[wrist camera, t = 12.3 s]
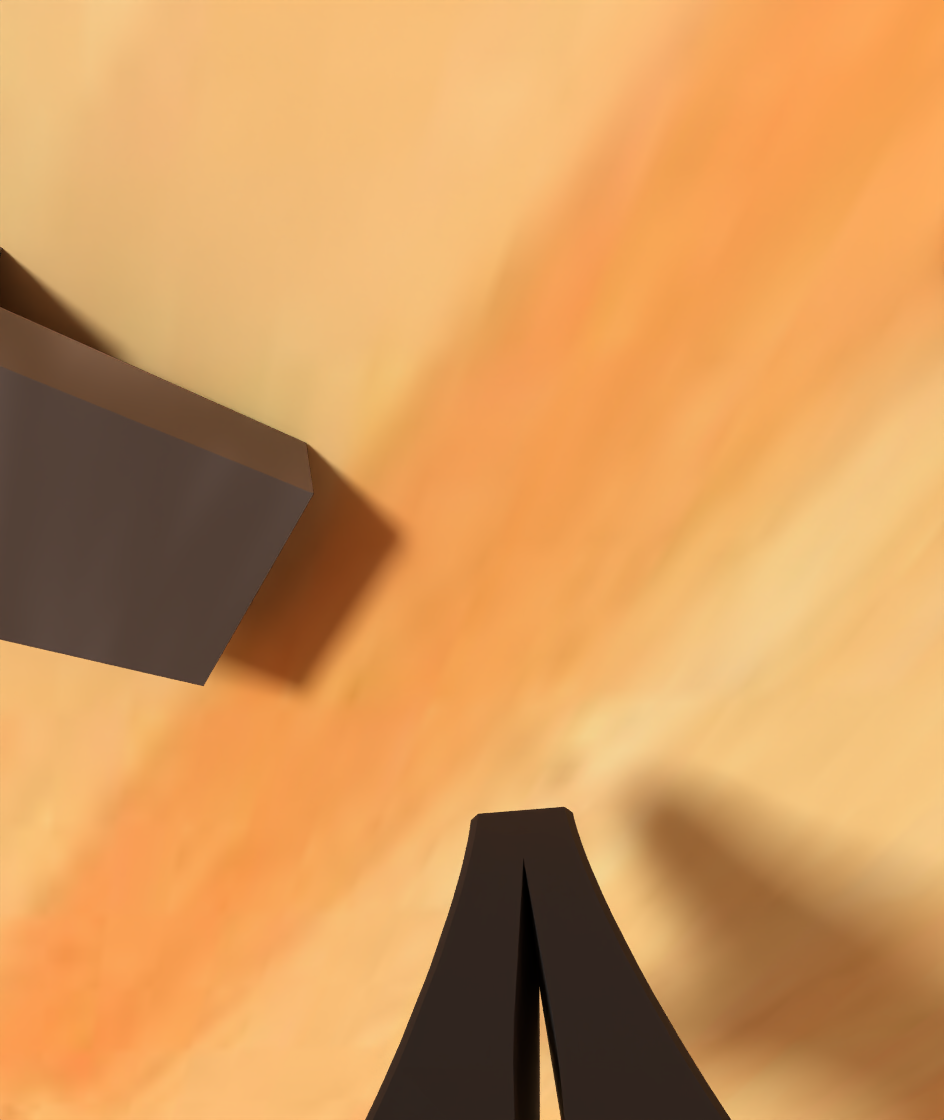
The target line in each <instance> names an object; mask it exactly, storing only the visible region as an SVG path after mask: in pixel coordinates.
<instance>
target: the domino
mask: <svg viewBox="0 0 944 1120" xmlns="http://www.w3.org/2000/svg"><path fill="white" fill-rule="evenodd" d="M313 494H314V493H313V486H312V479H311V473H310V466H309V459H308V452H307V446H306V443H305V442H303V441H300V440H298V439H296V438H294V437H291V436H289V435H287V434H285V433H282V432H280V431H278V430H276V429H273V428H271V427H269V426H267V425H264V424H262V423H260V422H258V421H255V420H253V419H251V418H249V417H246V416H244V415H242V414H240V413H237V412H235V411H233V410H231V409H228V408H226V407H224V406H222V405H219V404H217V403H215V402H213V401H210V400H208V399H206V398H204V397H202V396H199V395H197V394H195V393H193V392H190V391H188V390H186V389H184V388H181V387H179V386H177V385H175V384H172V383H170V382H168V381H166V380H163V379H161V378H159V377H157V376H154V375H152V374H150V373H148V372H145V371H143V370H141V369H139V368H136V367H134V366H132V365H130V364H127V363H125V362H123V361H121V360H118V359H116V358H114V357H112V356H109V355H107V354H105V353H103V352H100V351H98V350H96V349H94V348H91V347H89V346H87V345H85V344H82V343H80V342H78V341H76V340H73V339H71V338H69V337H67V336H64V335H62V334H60V333H58V332H55V331H53V330H51V329H49V328H46V327H44V326H42V325H40V324H37V323H35V322H33V321H31V320H28V319H26V318H24V317H22V316H19V315H17V314H15V313H13V312H11V311H8V310H6V309H4V308H2V307H0V640H5V641H9V642H14V643H18V644H22V645H27V646H31V647H35V648H40V649H44V650H48V651H53V652H57V653H62V654H66V655H70V656H75V657H79V658H83V659H88V660H92V661H96V662H101V663H105V664H109V665H114V666H118V667H123V668H127V669H131V670H136V671H140V672H144V673H149V674H153V675H157V676H162V677H166V678H170V679H175V680H179V681H184V682H188V683H192V684H197V685H201V686H204V684H205V682H206V681H207V679H208V677H209V675H210V674H211V672H212V670H213V668H214V667H215V665H216V663H217V661H218V660H219V658H220V656H221V654H222V653H223V651H224V649H225V647H226V646H227V644H228V642H229V640H230V639H231V637H232V635H233V633H234V632H235V630H236V628H237V627H238V625H239V623H240V621H241V620H242V618H243V616H244V614H245V613H246V611H247V609H248V607H249V606H250V604H251V602H252V600H253V599H254V597H255V595H256V593H257V592H258V590H259V588H260V586H261V585H262V583H263V581H264V579H265V578H266V576H267V574H268V572H269V571H270V569H271V567H272V565H273V564H274V562H275V560H276V558H277V557H278V555H279V553H280V551H281V550H282V548H283V546H284V544H285V543H286V541H287V539H288V537H289V536H290V534H291V532H292V530H293V529H294V527H295V525H296V523H297V522H298V520H299V518H300V517H301V515H302V513H303V511H304V510H305V508H306V506H307V504H308V503H309V501H310V499H311V497H312V496H313Z"/></svg>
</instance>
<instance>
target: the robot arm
mask: <svg viewBox="0 0 944 1120" xmlns="http://www.w3.org/2000/svg"><path fill="white" fill-rule="evenodd" d="M539 987H540V994H541V1000H542V1006H543V1012H544V1018H545V1024H546V1030H547V1036H548V1042H549V1049H550V1055H551V1061H552V1067H553V1073H554V1079H555V1085H556V1091H557V1097H558V1103H559V1110H560V1116H561V1120H731V1119H730V1117H729V1116H728V1114H727V1113H726V1111H725V1110H724V1108H723V1107H722V1105H721V1104H720V1102H719V1101H718V1099H717V1097H716V1096H715V1094H714V1093H713V1091H712V1090H711V1088H710V1087H709V1085H708V1084H707V1082H706V1080H705V1079H704V1077H703V1076H702V1074H701V1072H700V1071H699V1069H698V1068H697V1066H696V1064H695V1063H694V1061H693V1059H692V1058H691V1056H690V1055H689V1053H688V1051H687V1050H686V1048H685V1046H684V1045H683V1043H682V1041H681V1040H680V1038H679V1036H678V1035H677V1033H676V1031H675V1030H674V1028H673V1026H672V1024H671V1023H670V1021H669V1019H668V1017H667V1016H666V1014H665V1012H664V1011H663V1009H662V1007H661V1005H660V1004H659V1002H658V1000H657V999H656V997H655V995H654V993H653V992H652V990H651V988H650V986H649V984H648V982H647V981H646V979H645V977H644V975H643V973H642V972H641V970H640V968H639V966H638V964H637V962H636V960H635V958H634V956H633V954H632V952H631V951H630V949H629V947H628V945H627V943H626V941H625V939H624V937H623V935H622V933H621V931H620V929H619V927H618V925H617V923H616V921H615V919H614V917H613V915H612V913H611V911H610V909H609V907H608V905H607V903H606V901H605V898H604V896H603V894H602V892H601V889H600V887H599V885H598V883H597V880H596V878H595V876H594V873H593V871H592V869H591V866H590V864H589V861H588V859H587V856H586V854H585V851H584V848H583V846H582V843H581V840H580V837H579V834H578V831H577V828H576V824H575V820H574V816H573V813H572V812H571V811H570V810H568V809H567V808H565V807H557V808H545V809H532V810H520V811H507V812H495V813H482V814H477V815H476V816H475V817H474V818H473V819H472V820H471V824H470V831H469V837H468V842H467V847H466V851H465V856H464V860H463V864H462V868H461V872H460V876H459V880H458V883H457V886H456V890H455V893H454V897H453V900H452V904H451V907H450V910H449V913H448V916H447V919H446V922H445V925H444V928H443V931H442V934H441V937H440V940H439V943H438V946H437V949H436V952H435V955H434V957H433V960H432V963H431V966H430V969H429V971H428V974H427V977H426V979H425V982H424V984H423V987H422V989H421V992H420V994H419V997H418V999H417V1002H416V1004H415V1007H414V1009H413V1012H412V1014H411V1017H410V1019H409V1022H408V1024H407V1027H406V1029H405V1032H404V1034H403V1037H402V1039H401V1042H400V1044H399V1047H398V1049H397V1051H396V1054H395V1056H394V1058H393V1060H392V1063H391V1065H390V1067H389V1070H388V1072H387V1074H386V1076H385V1079H384V1081H383V1083H382V1085H381V1087H380V1090H379V1092H378V1094H377V1096H376V1098H375V1101H374V1103H373V1105H372V1107H371V1109H370V1111H369V1113H368V1115H367V1117H366V1119H365V1120H540V1013H539Z"/></svg>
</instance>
